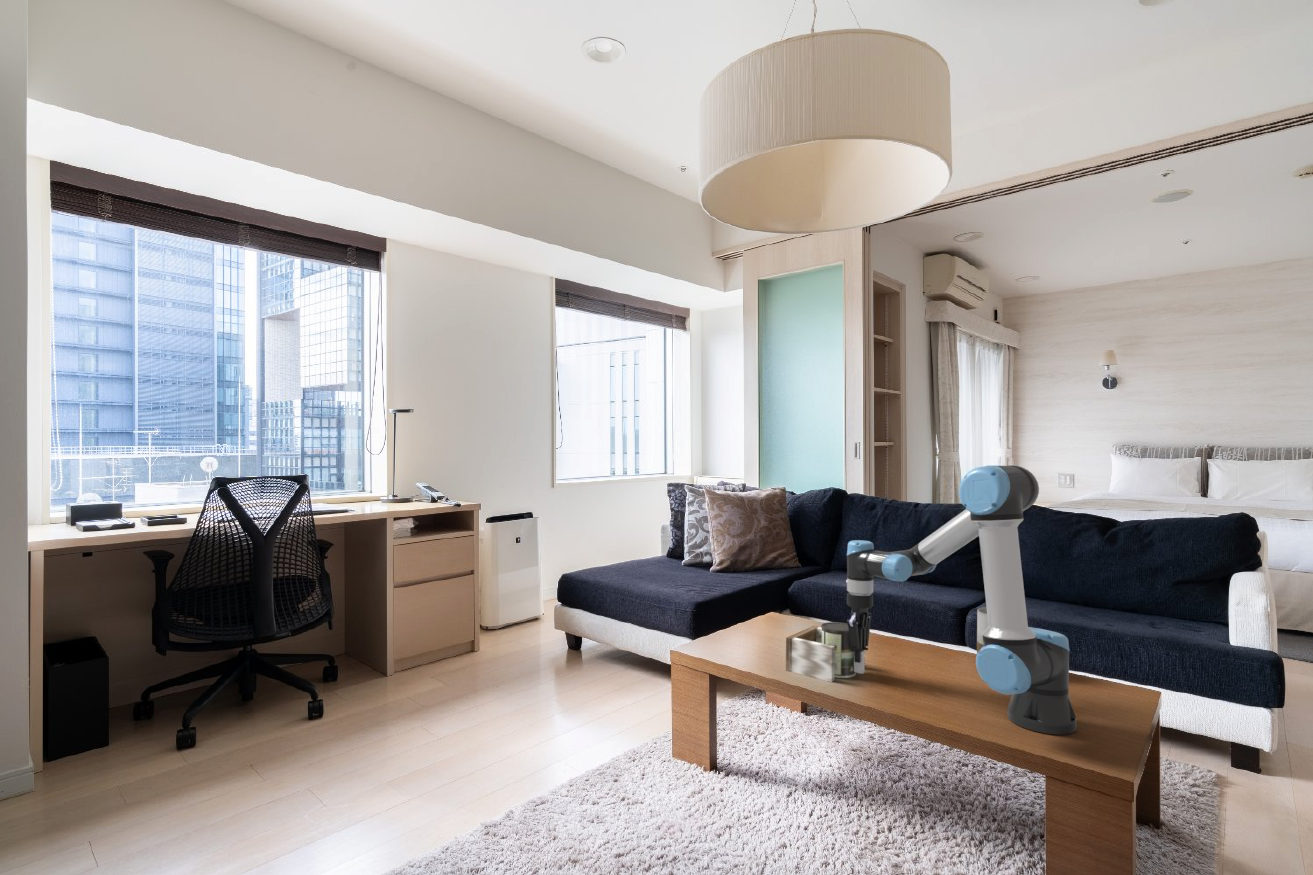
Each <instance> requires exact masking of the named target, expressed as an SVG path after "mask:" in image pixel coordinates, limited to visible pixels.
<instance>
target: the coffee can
mask: <svg viewBox="0 0 1313 875" xmlns="http://www.w3.org/2000/svg"><path fill="white" fill-rule="evenodd" d="M820 627H821V628H822V643H823V644H827V645H832V646H835V678H836V679H850V678H854V677H855V676H856V674H857V672H854V650H851V649H850V639H849V629H848V624H847V622H846V623H845V622H839V621H829V622H823V623H821V625H820Z"/></svg>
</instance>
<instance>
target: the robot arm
mask: <svg viewBox="0 0 1313 875" xmlns="http://www.w3.org/2000/svg"><path fill="white" fill-rule="evenodd" d="M1039 494H1040V487H1039V482H1038V479H1037V478H1036V476H1035V475H1034V474H1033V473H1032V472H1031V471H1030V470H1028V469H1027V468H1025V467H1023V466H1019V465H1012V464H1011V465H984V466H979V467H975V468H972V469H971V470H970V471H968V472H967V473H966V474H965V475H964V476H963V477H962V479H961V481H960V484H959V488H958V496H959V500H960V503H961V504H962V506H963V507H965V509H964V510H963V511H961V512H959V513H958V514H957V515H955V516H954V517H952V518H951V519H950V520H949V521H947V522H946V523H945V524H943V525H942V526H940V527H939V528H938V529H936V530H935V531H934V532H932V533H931V534H929V535H928V536H926V537H925V538H924V539H923V540H921V541H920V542H919V543H917V544H915V545H914V546H913V547H912V548H910V549H905V550H896V551H883V550H882V551H881V550H876V549H875V547H874V542H871V541H870V540H862V539H861V540H860V539H859V540H856V539H855V540H850V541H848V543H847V551H846V569H847V570H846V572H847V573H846V574H847V576H846V580H845V583H846V591H847V593H846V605H847V606H848V607H850V608H851V611H850V618H847V619H846V623H847V624H848V629H849V639H850V649H851V650H854V672H856V674H861V675H863V674H865V670H866V669H865V664H866V651H868V650H869V648H868V647H869V640H870V631H871V630H870V629H871V621H872V617H873V614H872V613H871V612H869V609H872V608H873V606H874V595H873V593H874V577H875V578H876V577H877V578H880V579H885V580H889V581H893V582H902V583H903V582H905V581H907V580H908V579H909V578H910V577H913V576H921V575H923V576H924V575H926V574H928V573H932V572H933V571H935V570H936V567H937V565H938V564H939V563H941V561H942V562H943V560H945V559H946V558H948V557H950V556H951V555H952V554H954V553H955V552H957V551H958V550H960V549H961V548H963V547H965V546H966V545H967V544H969V543H970V542H971V541H973V540H975V539H976V538H979V547H980V548H979V550H980V558H981V567H982V568H981V569H982V574H983V575H982V577H983V585H984V595H985V605H986V606H985V607H987V617H988V627H987V629H985V630H984V631H983V633H982V635H983V646H984V647H982V648H981V650H980V651H979V652H978V654H977V653H976V657H975V667H976V670H977V672H978V675H979V676H980V678H981V680H982V681H983V683H986V685H987V686H988V688H989V689H991V690H992V691H994V692H997V693H999V694H1002V695H1007V696H1011V698H1010V700H1009V703H1008V705H1007V719H1009V720H1010V721H1011V722H1012V723H1013V724H1015V725H1017V726H1019V727H1022V728H1023V729H1027V730H1029V731H1034V732H1038V733H1042V734H1049V735H1058V736H1059V735H1070V734H1073V733H1075V732H1076V731H1077V729H1078V726H1077V725H1078V719H1077V716H1076V713H1075V710H1074V707H1073V705H1072V701H1071V699H1070V693H1069V690H1070V689H1069V688H1070V686H1069V685H1070V684H1069V683H1070V682H1069V680H1070V676H1069V675H1070V652H1071V651H1070V650H1071V649H1070V646H1069V645H1070V644H1069V638H1068V637H1067V636H1066V635H1065V634H1062V633H1061V632H1057V631H1053V630H1048V629H1043V628H1039V627H1037V628H1036V627H1031V626H1029V624H1028V614H1027V606H1026V596H1025V588H1024V585H1025V584H1024V578H1023V577H1024V576H1023V570H1022V569H1023V568H1022V560H1021V549H1020V540H1019V531H1018V527H1019V525H1020V524H1021V523H1022V522H1024V512H1025V511H1026V510H1028V509H1029V508H1030V507H1031V506H1033V505H1034V504H1035V502H1037V500H1038V496H1039Z"/></svg>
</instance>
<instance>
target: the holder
mask: <svg viewBox="0 0 1313 875" xmlns="http://www.w3.org/2000/svg"><path fill="white" fill-rule="evenodd" d="M785 671H786V672H791V673H794V674H798V675H802V676H806V677H811V678H814V679H818V680H822V681H826V682H831V683H832V682H834V681H835V646H832V645H827V644H823V643H822V628H821V626H816V625H813V626H810V627H808V628H806V629H802V630H801V631H798V632H796V633H794V634H792V635H789V636H786V638H785Z"/></svg>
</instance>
